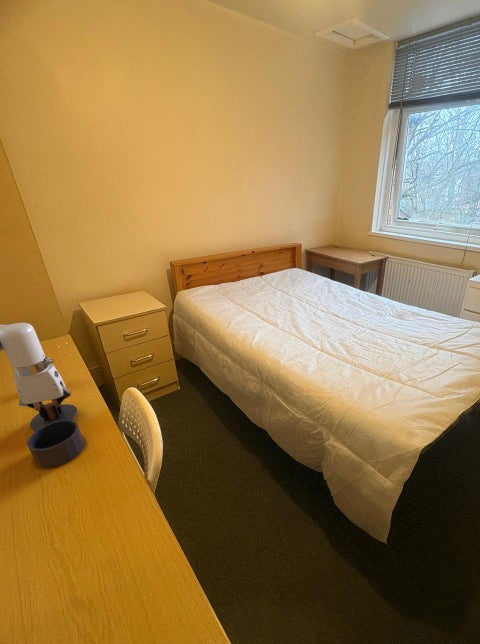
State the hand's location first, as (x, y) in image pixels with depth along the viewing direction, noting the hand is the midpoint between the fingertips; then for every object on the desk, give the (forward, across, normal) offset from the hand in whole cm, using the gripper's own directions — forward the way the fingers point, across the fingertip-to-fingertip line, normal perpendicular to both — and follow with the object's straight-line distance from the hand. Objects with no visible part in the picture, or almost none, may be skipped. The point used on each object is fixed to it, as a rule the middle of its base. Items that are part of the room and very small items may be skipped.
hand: (53, 416), depth 98 cm
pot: (+3, -4, +14) cm, 15 cm away
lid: (+1, 0, 0) cm, 1 cm away
